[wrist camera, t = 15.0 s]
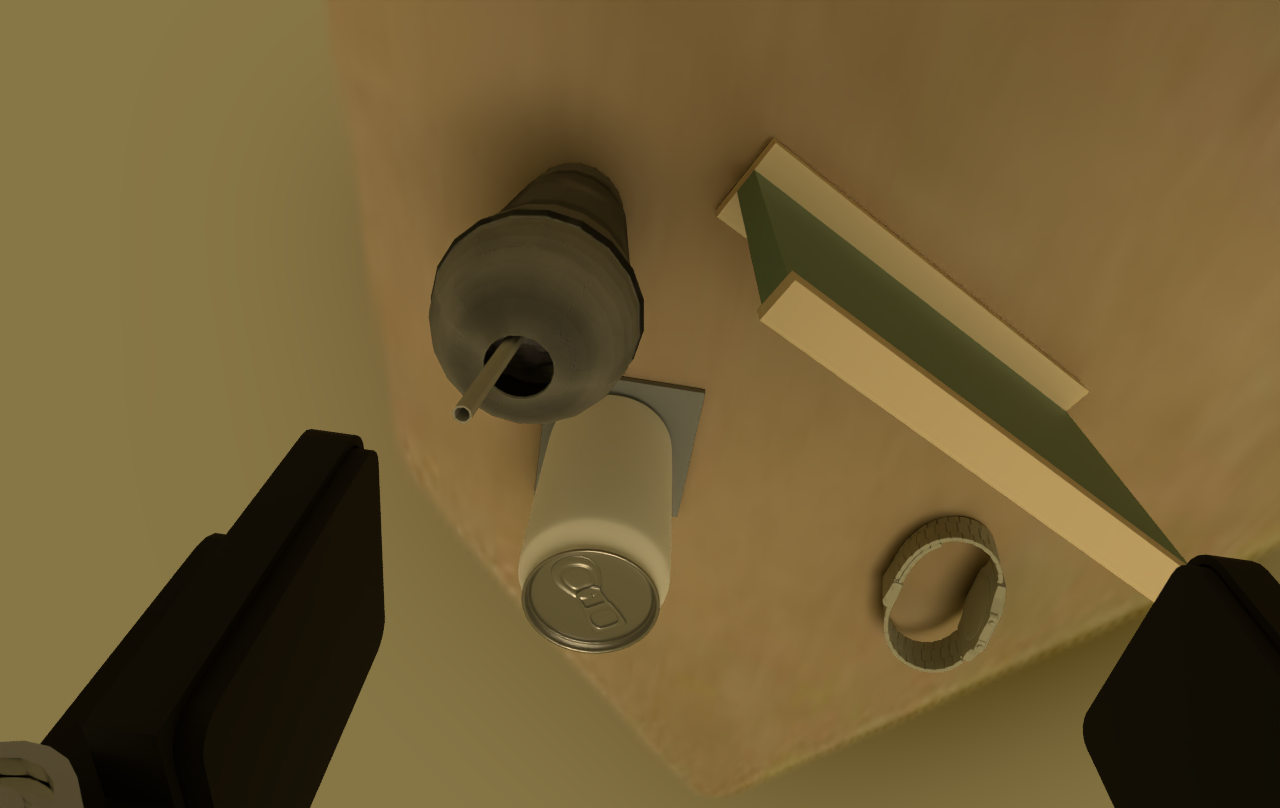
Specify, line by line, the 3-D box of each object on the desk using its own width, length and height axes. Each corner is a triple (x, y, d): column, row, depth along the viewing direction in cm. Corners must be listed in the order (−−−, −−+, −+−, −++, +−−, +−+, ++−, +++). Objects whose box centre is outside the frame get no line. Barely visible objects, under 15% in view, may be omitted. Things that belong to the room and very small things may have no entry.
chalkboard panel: (715, 210, 38) (734, 348, 25) (773, 137, 36) (823, 248, 24) (1017, 435, 43) (1155, 641, 31) (1080, 381, 41) (1252, 576, 29)
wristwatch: (951, 636, 51) (976, 703, 46) (851, 617, 50) (868, 683, 46) (1015, 520, 46) (1050, 582, 42) (907, 499, 46) (931, 559, 41)
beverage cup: (546, 310, 41) (448, 596, 23) (465, 177, 37) (281, 392, 20) (680, 247, 39) (682, 507, 21) (606, 101, 36) (538, 267, 18)
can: (640, 372, 42) (627, 520, 31) (691, 469, 44) (696, 635, 34) (527, 417, 43) (480, 572, 33) (584, 508, 46) (557, 678, 36)
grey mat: (705, 389, 42) (704, 393, 42) (677, 512, 46) (677, 516, 46) (550, 365, 42) (548, 368, 42) (535, 491, 46) (534, 495, 46)
